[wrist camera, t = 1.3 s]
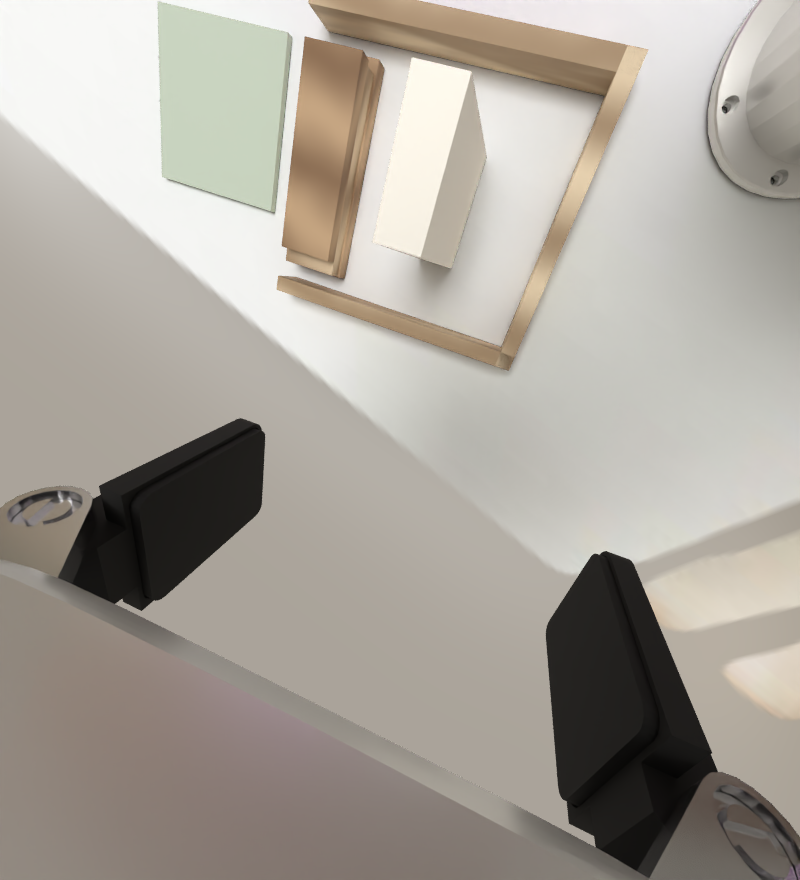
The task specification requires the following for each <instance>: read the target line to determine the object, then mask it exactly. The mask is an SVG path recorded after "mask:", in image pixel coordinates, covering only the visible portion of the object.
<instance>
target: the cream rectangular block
mask: <svg viewBox="0 0 800 880" xmlns="http://www.w3.org/2000/svg"><path fill="white" fill-rule="evenodd" d="M486 158H487V156H486V150H485V144H484V139H483V133H482V127H481V122H480V116H479V110H478V105H477V99H476V93H475V87H474V82H473V76H472V71H468V70H464V69H460V68H456V67H451V66H447V65H443V64H439V63H434V62H430V61H426V60H422V59H417V58H413V57H412V59H411V64H410V69H409V73H408V78H407V83H406V87H405V92H404V97H403V101H402V106H401V111H400V115H399V120H398V125H397V129H396V134H395V139H394V143H393V148H392V153H391V157H390V162H389V167H388V171H387V176H386V181H385V185H384V190H383V195H382V199H381V204H380V209H379V213H378V218H377V223H376V227H375V232H374V237H373V241H372V242H373V243H376V244H379V245H382V246H385V247H387V248H390V249H393V250H396V251H399V252H402V253H405V254H408V255H411V256H413V257H416V258H419V259H422V260H425V261H429V262H432V263H435V264H438V265H441V266H444V267H447V268H451V269H452V266H453V263H454V260H455V256H456V253H457V250H458V247H459V244H460V240H461V237H462V234H463V231H464V228H465V225H466V221H467V218H468V215H469V212H470V209H471V206H472V202H473V199H474V196H475V193H476V190H477V187H478V183H479V180H480V177H481V174H482V171H483V167H484V164H485V161H486Z"/></svg>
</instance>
